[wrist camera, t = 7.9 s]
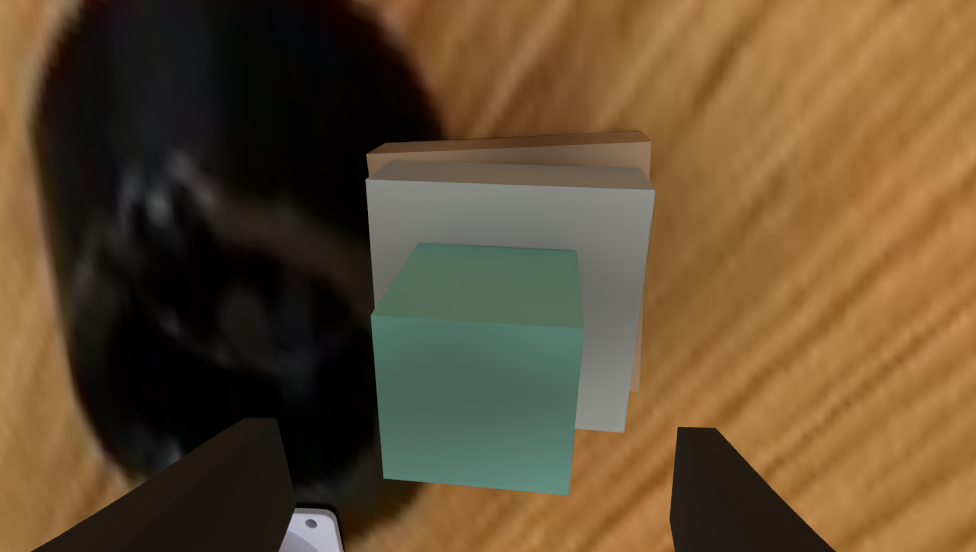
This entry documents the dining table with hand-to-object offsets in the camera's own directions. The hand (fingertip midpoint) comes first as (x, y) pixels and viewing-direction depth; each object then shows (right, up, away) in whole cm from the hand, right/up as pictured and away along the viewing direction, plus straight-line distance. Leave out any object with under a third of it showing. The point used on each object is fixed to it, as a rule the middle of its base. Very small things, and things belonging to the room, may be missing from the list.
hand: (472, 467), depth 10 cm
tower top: (+1, +3, +7) cm, 8 cm away
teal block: (0, +2, +5) cm, 5 cm away
